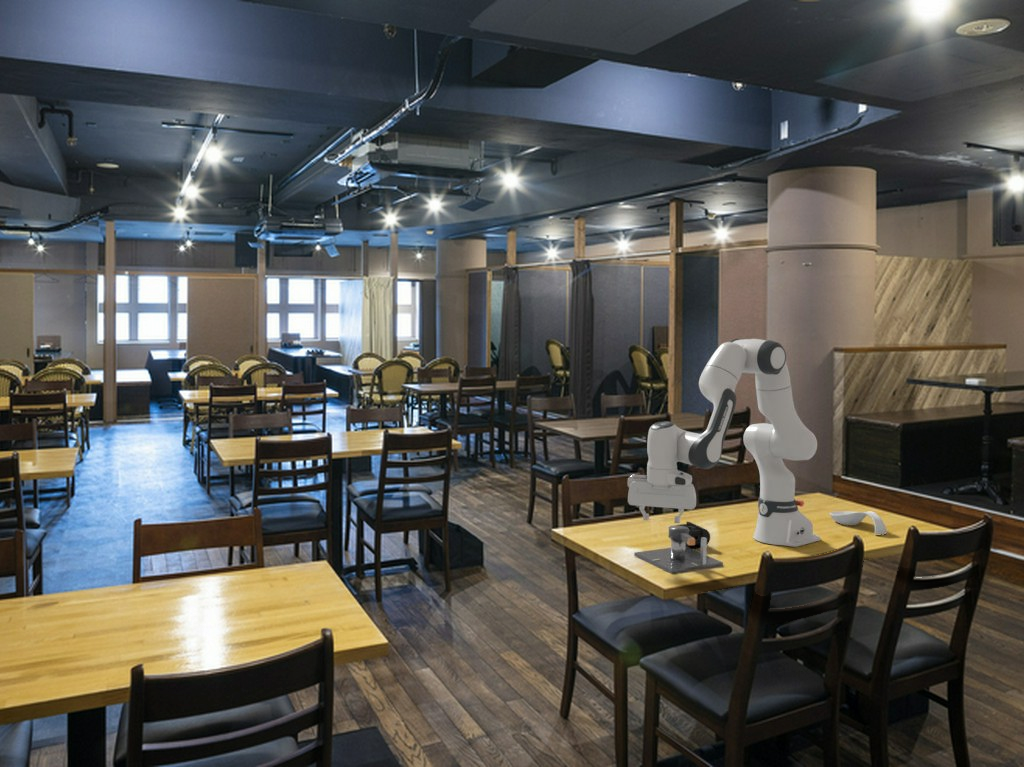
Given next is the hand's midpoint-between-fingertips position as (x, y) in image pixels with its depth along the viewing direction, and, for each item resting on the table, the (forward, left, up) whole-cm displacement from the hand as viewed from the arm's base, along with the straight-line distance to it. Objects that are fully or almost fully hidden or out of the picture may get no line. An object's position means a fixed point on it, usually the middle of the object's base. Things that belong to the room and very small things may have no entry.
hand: (661, 521), depth 242 cm
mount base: (-7, 0, -13) cm, 15 cm away
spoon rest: (-92, -7, -14) cm, 93 cm away
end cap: (-22, -12, -13) cm, 28 cm away
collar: (-6, +3, -6) cm, 9 cm away
